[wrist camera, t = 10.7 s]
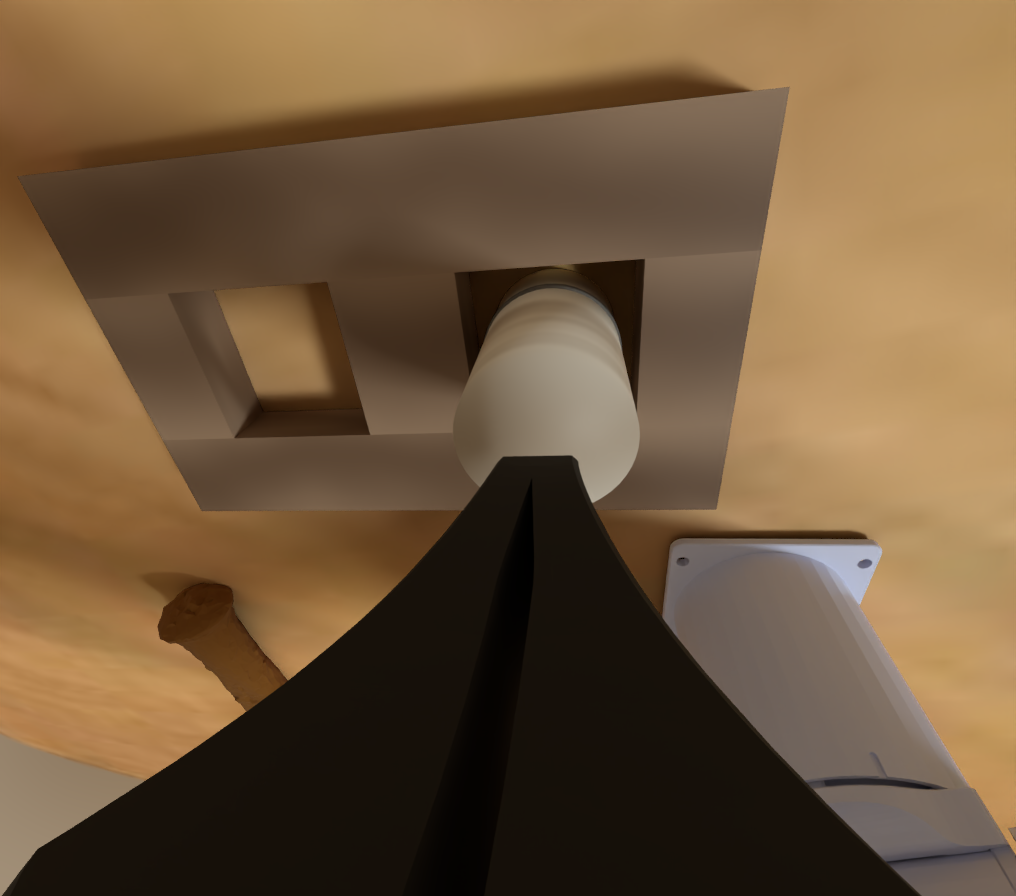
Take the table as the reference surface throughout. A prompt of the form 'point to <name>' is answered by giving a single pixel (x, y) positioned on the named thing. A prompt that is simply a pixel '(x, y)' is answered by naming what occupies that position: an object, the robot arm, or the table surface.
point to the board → (426, 287)
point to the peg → (550, 384)
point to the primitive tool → (220, 642)
